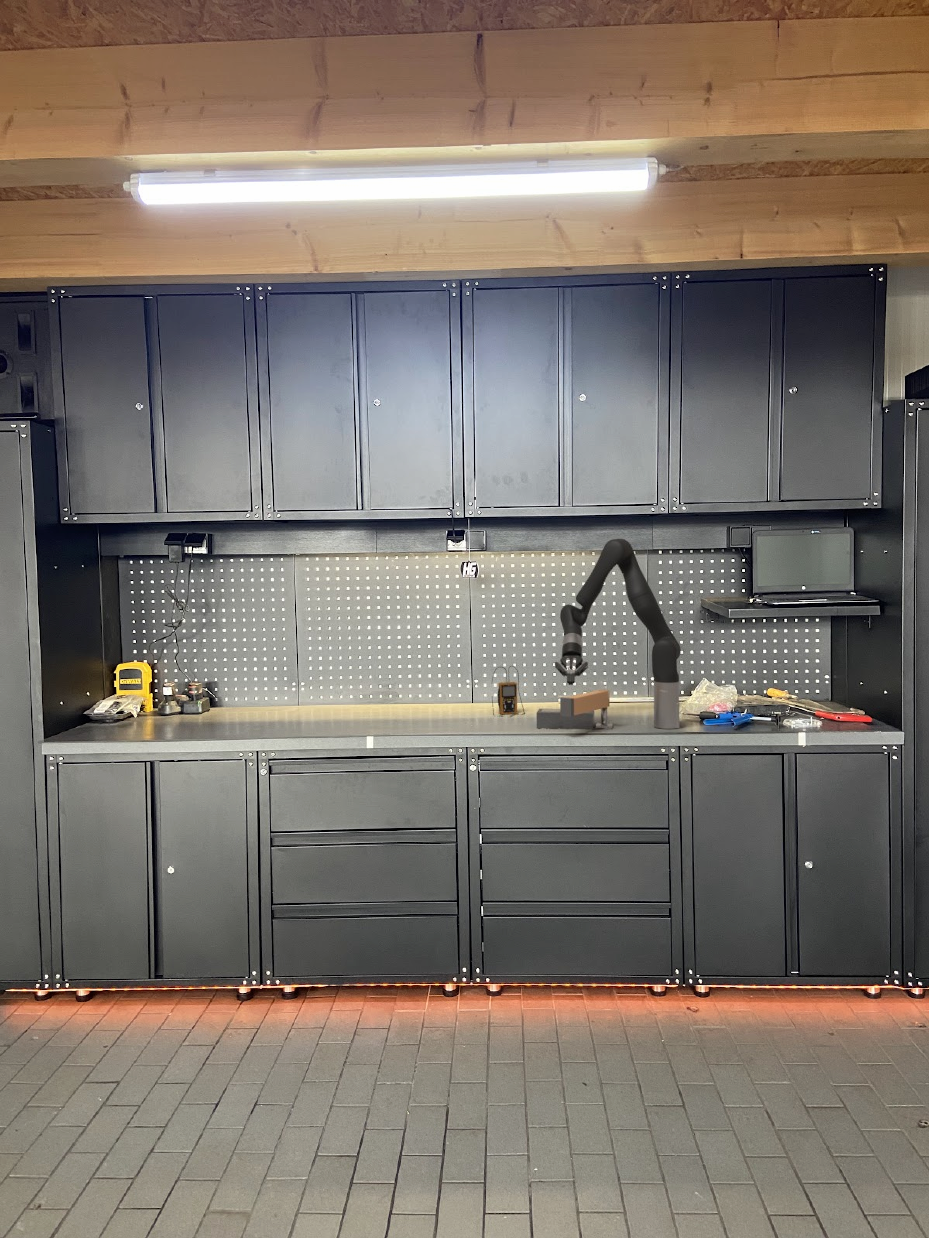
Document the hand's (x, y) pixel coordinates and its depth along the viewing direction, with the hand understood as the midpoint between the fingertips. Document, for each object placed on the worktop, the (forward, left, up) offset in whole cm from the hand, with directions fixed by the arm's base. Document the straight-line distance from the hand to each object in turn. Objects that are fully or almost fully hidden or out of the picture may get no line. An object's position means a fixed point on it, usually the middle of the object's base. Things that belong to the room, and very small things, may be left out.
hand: (570, 683), depth 339 cm
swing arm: (-6, +3, -10) cm, 12 cm away
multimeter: (+27, -33, -18) cm, 46 cm away
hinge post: (-12, -8, -18) cm, 23 cm away
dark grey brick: (+3, -8, -17) cm, 19 cm away
